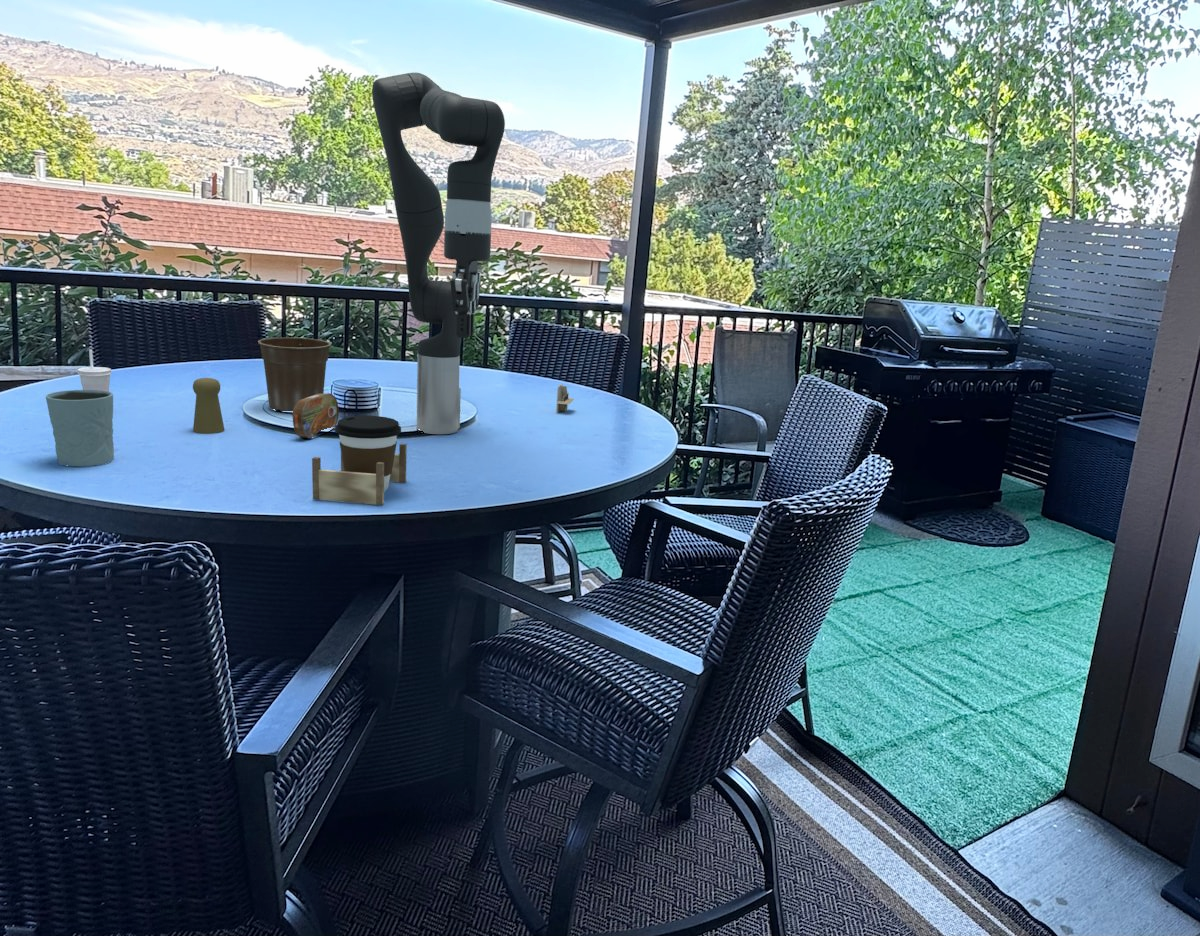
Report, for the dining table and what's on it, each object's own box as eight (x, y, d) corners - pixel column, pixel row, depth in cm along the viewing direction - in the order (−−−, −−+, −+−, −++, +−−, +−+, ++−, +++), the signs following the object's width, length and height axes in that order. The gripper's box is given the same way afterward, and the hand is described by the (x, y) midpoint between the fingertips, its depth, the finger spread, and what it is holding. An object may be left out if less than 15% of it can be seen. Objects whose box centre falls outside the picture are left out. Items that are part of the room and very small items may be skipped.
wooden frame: (406, 481, 152) (406, 443, 150) (382, 505, 138) (382, 464, 136) (343, 476, 152) (342, 438, 150) (312, 499, 138) (312, 458, 136)
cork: (231, 430, 179) (228, 378, 176) (207, 435, 173) (204, 382, 170) (210, 425, 181) (207, 375, 178) (186, 430, 176) (183, 378, 173)
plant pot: (340, 414, 201) (340, 346, 197) (270, 417, 192) (267, 347, 188) (320, 401, 214) (319, 337, 210) (253, 404, 205) (250, 337, 201)
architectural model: (572, 412, 225) (574, 384, 223) (568, 417, 218) (569, 388, 216) (560, 411, 225) (561, 383, 224) (555, 415, 219) (556, 387, 217)
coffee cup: (321, 492, 142) (320, 422, 139) (361, 477, 152) (361, 412, 149) (376, 503, 139) (376, 432, 136) (413, 487, 149) (414, 420, 145)
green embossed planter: (71, 471, 144) (64, 402, 140) (40, 460, 149) (33, 393, 146) (130, 460, 152) (125, 395, 149) (99, 450, 157) (93, 386, 154)
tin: (304, 442, 173) (303, 402, 171) (290, 440, 174) (289, 400, 172) (340, 428, 187) (339, 390, 185) (327, 426, 188) (326, 389, 186)
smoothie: (74, 413, 183) (68, 348, 179) (101, 408, 189) (95, 346, 185) (95, 417, 181) (89, 352, 177) (121, 412, 187) (116, 349, 183)
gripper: (454, 229, 144) (451, 331, 149) (434, 227, 131) (432, 339, 135) (498, 232, 144) (494, 334, 148) (482, 231, 131) (479, 343, 135)
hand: (464, 336), depth 142 cm, fingers closed
